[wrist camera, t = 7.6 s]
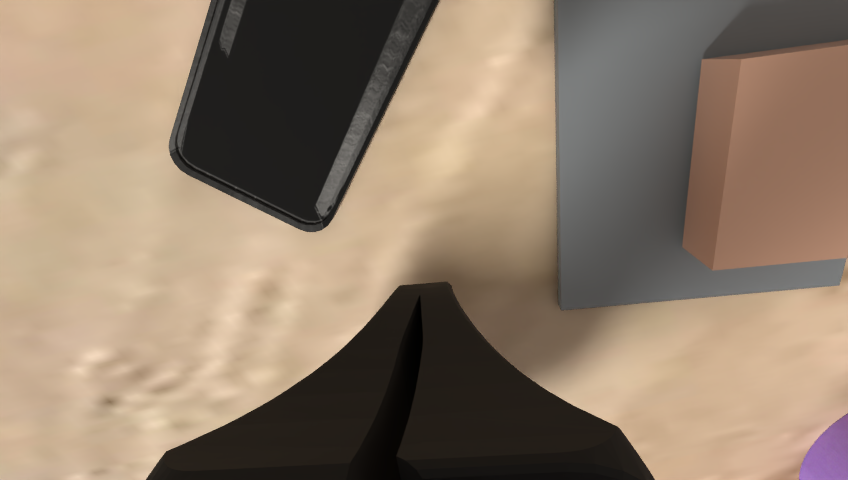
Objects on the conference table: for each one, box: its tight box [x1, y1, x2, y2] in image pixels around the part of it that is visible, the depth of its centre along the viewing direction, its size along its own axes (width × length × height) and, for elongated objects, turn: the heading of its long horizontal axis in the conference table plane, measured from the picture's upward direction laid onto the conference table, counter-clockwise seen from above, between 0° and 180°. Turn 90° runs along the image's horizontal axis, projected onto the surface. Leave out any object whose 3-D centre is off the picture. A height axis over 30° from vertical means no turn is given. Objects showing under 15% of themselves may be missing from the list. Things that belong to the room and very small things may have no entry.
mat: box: [554, 0, 848, 310], centre depth 19 cm, size 14×13×1 cm
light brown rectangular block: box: [682, 40, 848, 271], centre depth 17 cm, size 8×3×7 cm
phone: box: [169, 0, 439, 232], centre depth 18 cm, size 8×1×15 cm
